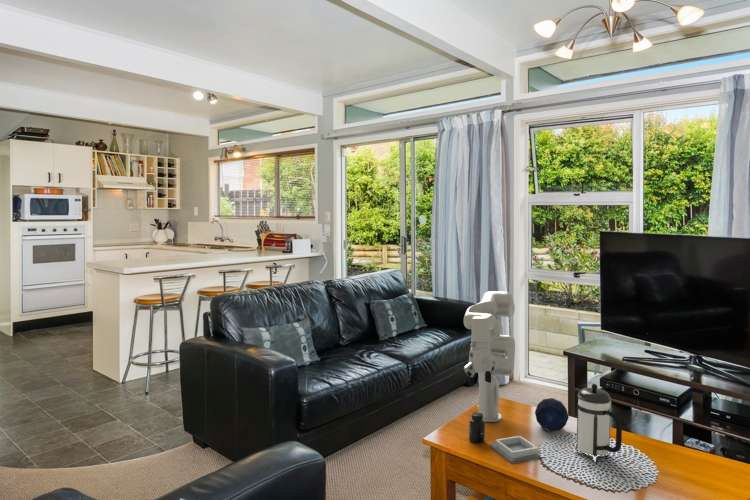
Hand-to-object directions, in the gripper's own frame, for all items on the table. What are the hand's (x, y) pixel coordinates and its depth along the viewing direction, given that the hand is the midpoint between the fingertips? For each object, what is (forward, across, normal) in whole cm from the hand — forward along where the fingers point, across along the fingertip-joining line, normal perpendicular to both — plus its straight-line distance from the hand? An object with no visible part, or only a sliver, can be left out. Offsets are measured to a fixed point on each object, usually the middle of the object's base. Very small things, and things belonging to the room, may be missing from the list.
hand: (479, 383), depth 218 cm
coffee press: (+26, +33, -34) cm, 54 cm away
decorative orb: (+26, +39, -6) cm, 47 cm away
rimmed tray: (+26, +8, -14) cm, 31 cm away
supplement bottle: (+27, +1, +2) cm, 27 cm away
